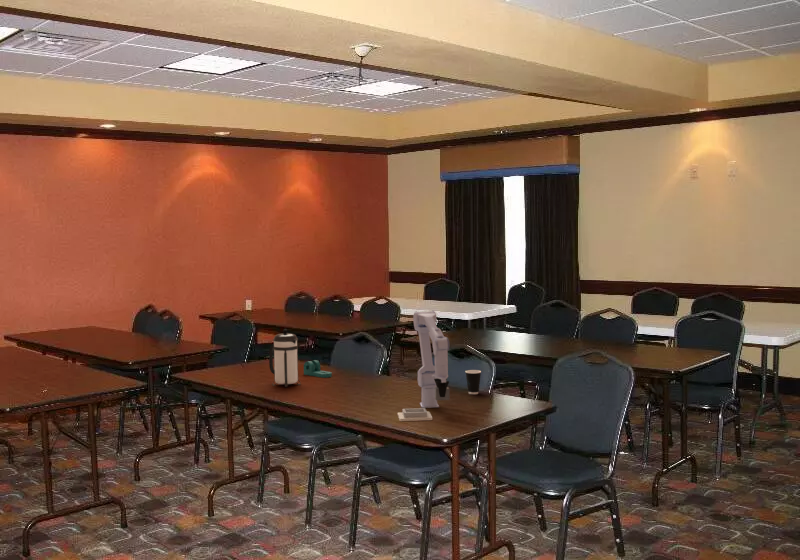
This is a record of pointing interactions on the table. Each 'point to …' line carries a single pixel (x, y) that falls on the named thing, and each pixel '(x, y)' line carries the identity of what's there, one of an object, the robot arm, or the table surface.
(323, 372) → the bracket
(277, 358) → the coffee press
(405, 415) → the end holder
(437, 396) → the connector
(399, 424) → the table surface
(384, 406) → the table surface
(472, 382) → the dixie cup
